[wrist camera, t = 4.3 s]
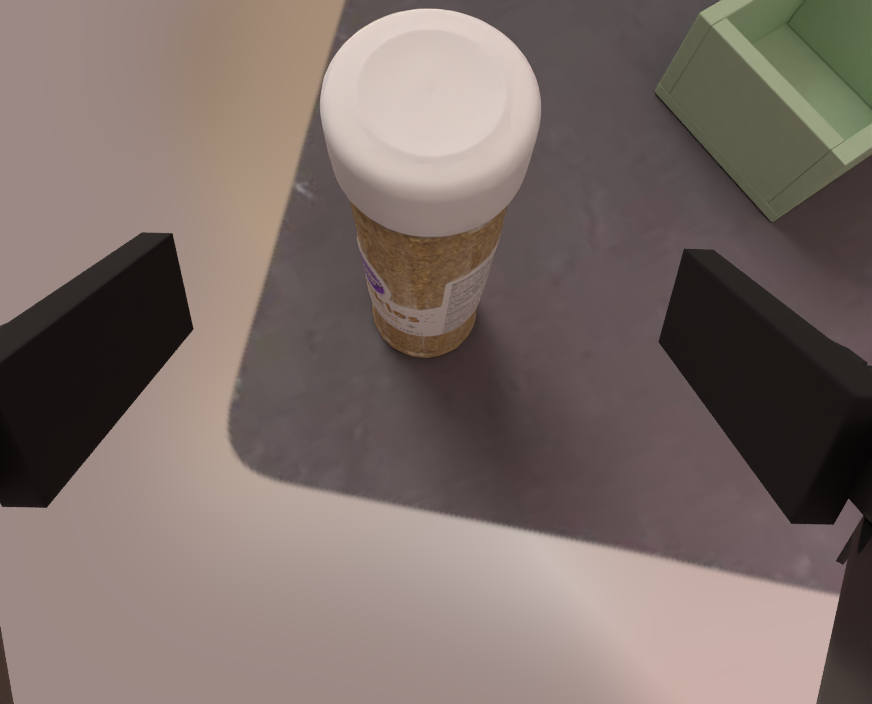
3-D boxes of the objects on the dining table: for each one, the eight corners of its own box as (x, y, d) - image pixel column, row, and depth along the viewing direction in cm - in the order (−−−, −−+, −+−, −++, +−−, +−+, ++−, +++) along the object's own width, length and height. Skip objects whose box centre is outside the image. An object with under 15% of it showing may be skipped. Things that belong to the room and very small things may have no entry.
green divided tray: (653, 91, 27) (699, 12, 22) (883, -47, 30) (964, -142, 25) (771, 223, 25) (846, 165, 21) (1003, 64, 28) (1113, -17, 23)
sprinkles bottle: (351, 310, 24) (266, 86, 11) (426, 243, 25) (431, -39, 12) (425, 383, 23) (431, 239, 10) (499, 311, 24) (593, 93, 11)
